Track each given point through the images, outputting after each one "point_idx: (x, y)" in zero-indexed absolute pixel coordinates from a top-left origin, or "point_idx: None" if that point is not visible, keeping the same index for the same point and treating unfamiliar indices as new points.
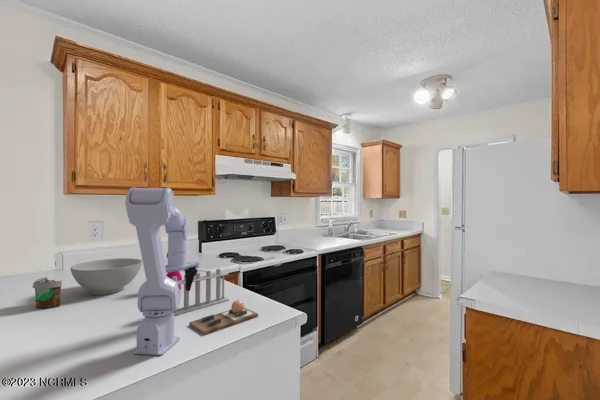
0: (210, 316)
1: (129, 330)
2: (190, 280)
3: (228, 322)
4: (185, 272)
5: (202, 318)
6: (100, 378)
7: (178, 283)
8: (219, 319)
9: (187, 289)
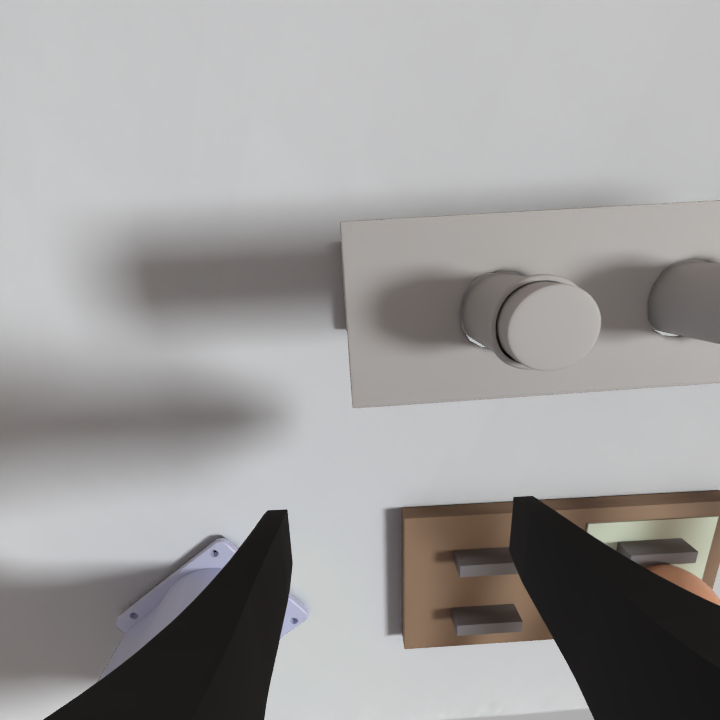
0: (504, 574)
1: (127, 364)
2: (589, 692)
3: (536, 631)
4: (697, 690)
5: (459, 573)
6: (14, 694)
7: (530, 371)
8: (511, 631)
9: (515, 543)
